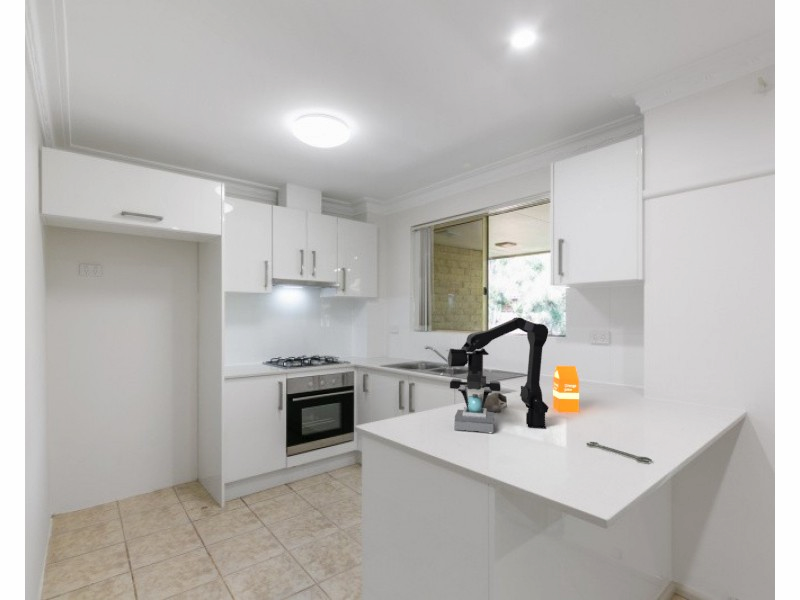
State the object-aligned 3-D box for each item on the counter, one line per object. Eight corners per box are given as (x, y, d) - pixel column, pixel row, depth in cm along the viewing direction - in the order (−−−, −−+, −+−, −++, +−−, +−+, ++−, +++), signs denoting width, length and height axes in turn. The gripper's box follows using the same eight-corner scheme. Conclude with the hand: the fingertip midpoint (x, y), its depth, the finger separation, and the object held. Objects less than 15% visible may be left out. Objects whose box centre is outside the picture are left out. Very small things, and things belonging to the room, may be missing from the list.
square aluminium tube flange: (493, 424, 161) (494, 407, 161) (493, 434, 149) (493, 415, 149) (457, 421, 164) (458, 405, 164) (454, 430, 152) (454, 412, 152)
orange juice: (579, 412, 182) (579, 367, 183) (559, 412, 182) (559, 366, 183) (571, 408, 190) (572, 364, 190) (552, 408, 190) (553, 364, 191)
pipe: (484, 430, 181) (514, 415, 176) (473, 417, 178) (503, 402, 173) (480, 404, 195) (508, 390, 190) (470, 392, 192) (497, 377, 187)
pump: (481, 411, 158) (482, 393, 159) (481, 415, 154) (481, 396, 154) (468, 410, 160) (469, 392, 160) (467, 414, 155) (468, 395, 155)
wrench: (654, 463, 123) (592, 444, 140) (654, 457, 123) (592, 439, 140) (646, 467, 120) (583, 448, 137) (646, 462, 120) (583, 443, 137)
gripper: (448, 368, 151) (447, 411, 151) (500, 370, 147) (500, 414, 147) (451, 364, 162) (451, 404, 162) (500, 366, 158) (500, 407, 157)
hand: (475, 407), depth 157 cm, fingers open, 5 cm apart
